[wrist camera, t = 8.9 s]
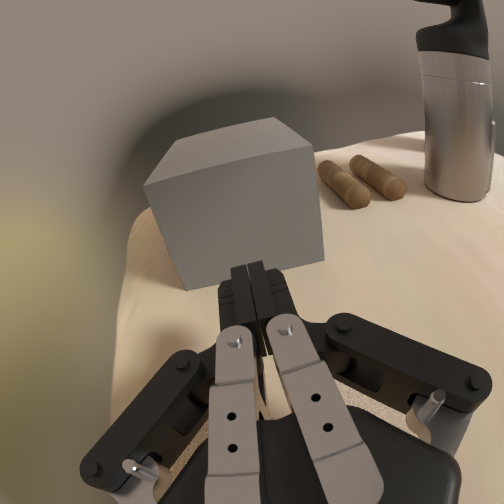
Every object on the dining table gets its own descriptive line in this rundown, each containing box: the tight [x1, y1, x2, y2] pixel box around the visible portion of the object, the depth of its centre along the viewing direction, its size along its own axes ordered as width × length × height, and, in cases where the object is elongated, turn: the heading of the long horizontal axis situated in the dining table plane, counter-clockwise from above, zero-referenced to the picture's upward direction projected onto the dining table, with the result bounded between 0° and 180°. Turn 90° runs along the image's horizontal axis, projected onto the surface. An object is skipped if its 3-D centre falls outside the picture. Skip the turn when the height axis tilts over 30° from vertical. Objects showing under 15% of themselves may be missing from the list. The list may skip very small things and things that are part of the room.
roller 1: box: [317, 160, 371, 210], centre depth 33 cm, size 3×10×3 cm
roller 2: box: [349, 155, 406, 201], centre depth 33 cm, size 3×10×3 cm, turn 8°
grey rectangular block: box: [143, 117, 324, 291], centre depth 28 cm, size 12×16×10 cm
